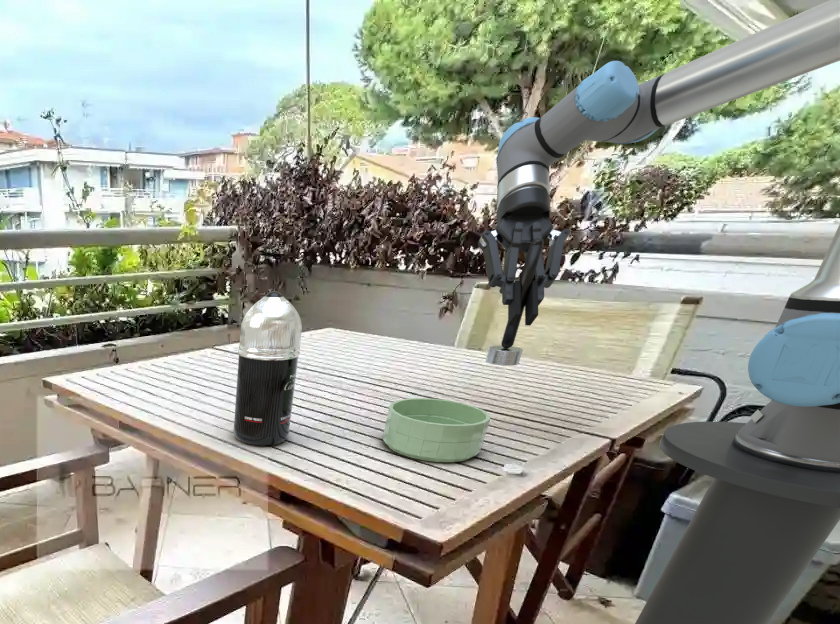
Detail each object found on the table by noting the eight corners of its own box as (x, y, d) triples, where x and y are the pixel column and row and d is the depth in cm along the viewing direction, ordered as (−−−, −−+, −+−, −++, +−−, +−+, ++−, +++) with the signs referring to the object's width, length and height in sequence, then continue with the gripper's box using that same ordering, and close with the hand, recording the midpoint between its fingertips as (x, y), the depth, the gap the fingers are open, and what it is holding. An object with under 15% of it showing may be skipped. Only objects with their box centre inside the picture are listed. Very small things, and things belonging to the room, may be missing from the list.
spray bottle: (223, 441, 99) (232, 293, 87) (244, 425, 107) (255, 286, 94) (278, 452, 94) (295, 296, 82) (296, 434, 102) (315, 289, 90)
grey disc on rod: (522, 362, 95) (561, 237, 86) (513, 367, 92) (553, 238, 83) (490, 358, 98) (524, 237, 89) (481, 362, 95) (515, 238, 86)
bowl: (491, 446, 95) (502, 410, 92) (460, 471, 86) (471, 432, 82) (403, 427, 104) (410, 393, 101) (366, 448, 95) (374, 411, 92)
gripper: (560, 220, 96) (563, 335, 90) (467, 222, 100) (463, 333, 94) (584, 182, 89) (589, 305, 83) (483, 186, 92) (480, 303, 87)
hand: (522, 319), depth 88 cm, fingers closed on grey disc on rod, 2 cm apart
